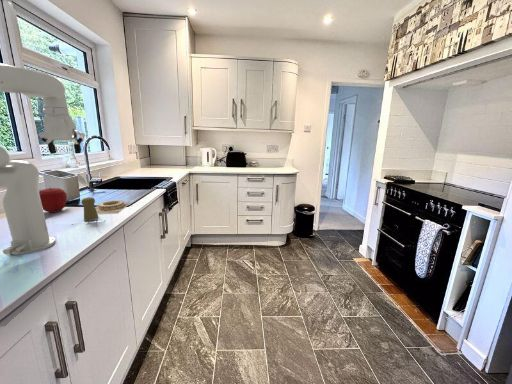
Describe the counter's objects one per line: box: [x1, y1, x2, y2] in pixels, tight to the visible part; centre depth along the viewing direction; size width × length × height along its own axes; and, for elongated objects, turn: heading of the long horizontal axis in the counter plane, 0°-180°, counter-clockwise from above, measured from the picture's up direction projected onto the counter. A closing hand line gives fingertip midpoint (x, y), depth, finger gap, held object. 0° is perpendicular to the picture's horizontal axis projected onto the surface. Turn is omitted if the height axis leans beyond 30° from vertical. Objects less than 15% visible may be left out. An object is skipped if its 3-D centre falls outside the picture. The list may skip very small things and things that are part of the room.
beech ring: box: [97, 199, 125, 210], centre depth 131 cm, size 12×12×2 cm
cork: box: [81, 196, 99, 223], centre depth 112 cm, size 6×6×11 cm
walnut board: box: [95, 201, 132, 215], centre depth 128 cm, size 20×16×1 cm
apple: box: [39, 187, 68, 214], centre depth 123 cm, size 12×12×13 cm
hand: (65, 153), depth 104 cm, fingers open, 9 cm apart
